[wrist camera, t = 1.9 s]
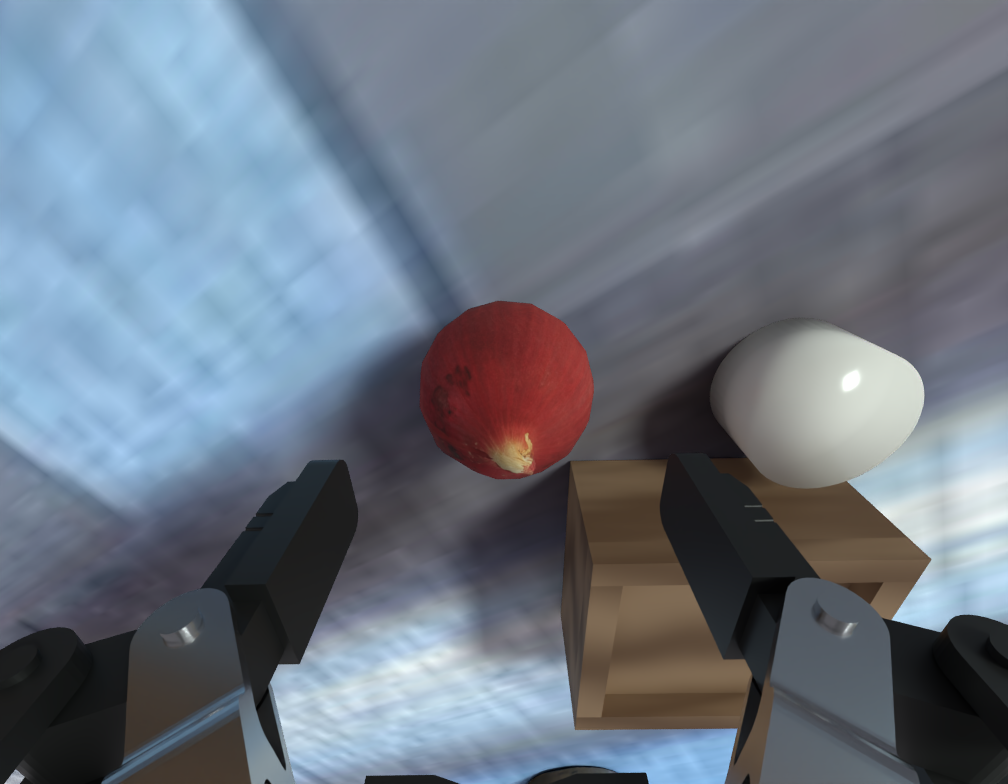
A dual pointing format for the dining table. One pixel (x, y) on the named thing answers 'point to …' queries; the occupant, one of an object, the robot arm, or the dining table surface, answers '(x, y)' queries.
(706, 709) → the brown open square tray
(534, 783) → the pillar candle
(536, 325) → the onion
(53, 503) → the dining table surface
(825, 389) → the white rounded pebble
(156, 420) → the dining table surface
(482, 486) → the dining table surface
